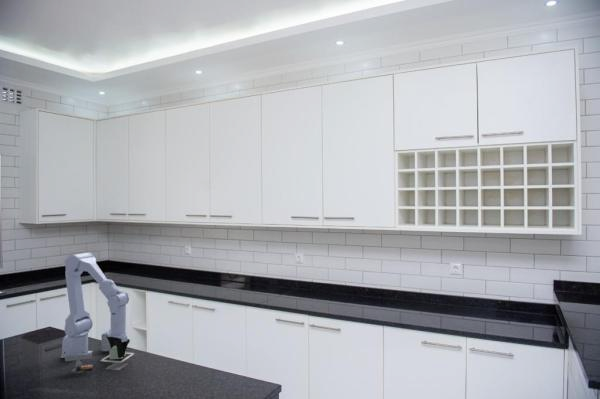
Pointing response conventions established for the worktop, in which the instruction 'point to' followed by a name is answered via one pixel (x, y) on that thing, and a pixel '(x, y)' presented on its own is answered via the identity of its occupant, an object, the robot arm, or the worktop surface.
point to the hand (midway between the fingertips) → (117, 354)
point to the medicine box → (105, 342)
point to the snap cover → (114, 353)
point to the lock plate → (113, 367)
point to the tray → (116, 361)
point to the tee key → (79, 360)
